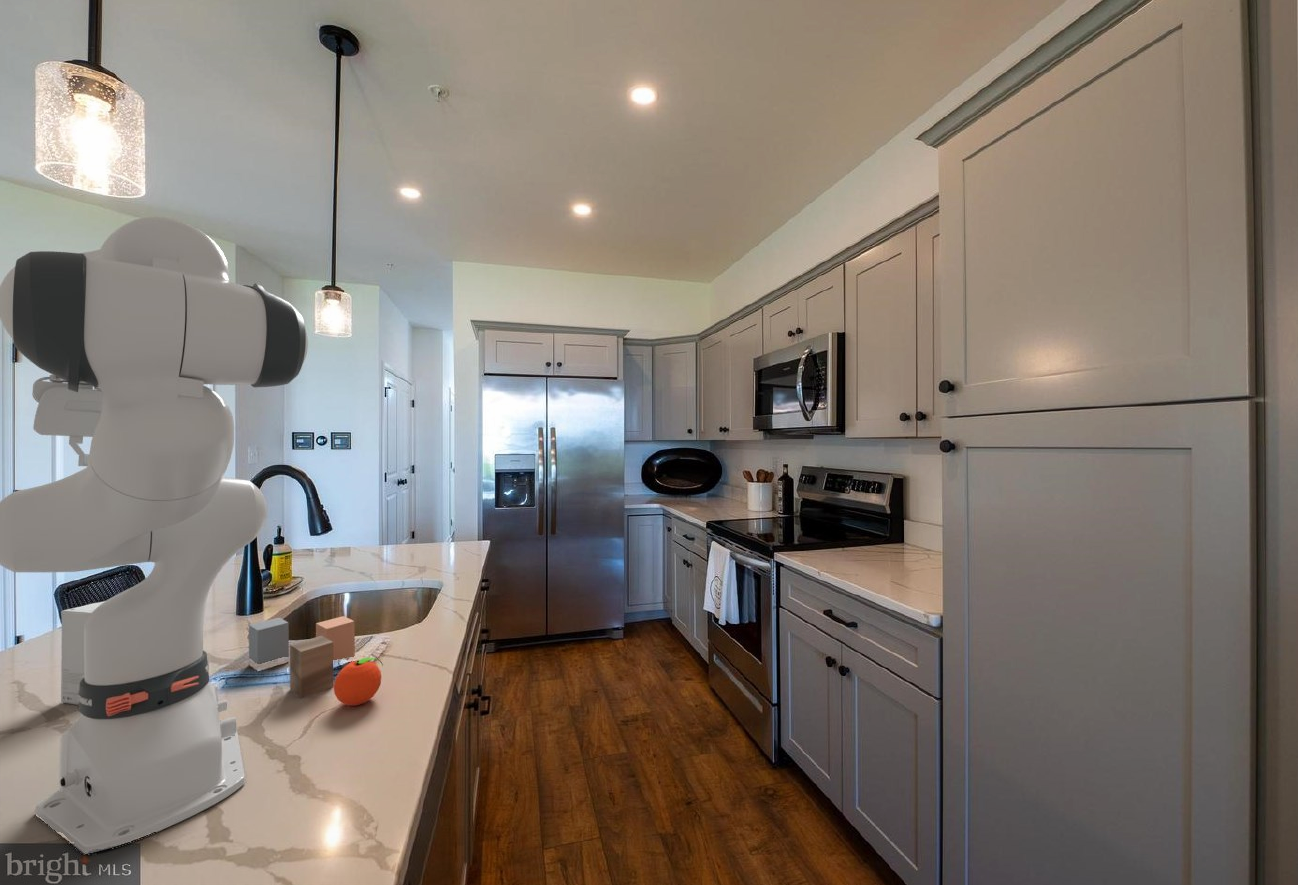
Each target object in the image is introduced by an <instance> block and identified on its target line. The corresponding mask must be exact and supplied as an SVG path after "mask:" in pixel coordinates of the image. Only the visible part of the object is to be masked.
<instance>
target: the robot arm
mask: <svg viewBox="0 0 1298 885" xmlns="http://www.w3.org/2000/svg"><path fill="white" fill-rule="evenodd" d="M230 279H231V278H230V269H229V264H228V261H227V259H226V257H225V254H224V252H223V251H222V249H221V247H219V245H218V244H217V243H216V242H215V240H214V239H212V238H211V237H210V236H209V235H207V234H206V233H205V232H204V231H202V230H201V229H198V228H197V227H195V226H193V225H192V224H189V223H186V222H184V221H182V220H179V219H174V218H169V217H164V216H148V217H147V216H146V217H140V218H137V219H134V220H131V221H128V222H127V223H125V224H123V225H122V226H120V227H119V228H117V229H116V230H114V231H113V232H112V233H111V234H110V235H109V236H108V237H107V239H105V241H104V243H103V244H102V245H101V247H100V249H97V250H92V251H86V252H79V253H77V252H68V251H67V252H66V251H49V250H48V251H47V250H46V251H41V250H38V251H30V252H28V253H26V254H24V255H23V256H21V257H19V258H17V259H16V262H15V266H14V267H13V268H11V270H10V271H9V272H7V274H6V275H5V277H4V278H3V280H2V281H1V283H0V321H1V324H2V326H3V327H4V329H5V330H6V332H7V334H8V335H9V336H10V337H11V339H12V340H13V345H14V348H16V350H17V351H18V352H19V353H20V354H21V355H22V356H24V357H25V358H26V359H27V360H28V361H30V362H31V363H33V364H34V366H36V367H38V368H39V369H40V370H42V371H44V372H47V373H49V374H50V375H49V376H44V377H43V376H42V377H40V378H38V379H36V380H35V381H34V383H33V385H32V398H33V399H34V400H35V402H37V403H38V405H37V408H36V411H35V416H34V420H33V427H32V428H33V431H34V432H36V433H37V434H39V435H41V436H59V437H60V436H61V437H64V436H65V437H69V438H68V439H69V440H68V444H69V446H70V447H71V448H72V450H73V451H74V452H75V454H76V455H77V456H78V461H77V462H78V464H77V465H78V467H85V468H83V469H82V470H81V469H80V470H78V471H77V472H76V473H73V474H71V475H68V476H66V477H64V478H61V479H58V480H56V481H52V482H50V483H45V484H42V485H38V486H33V487H29V488H25V489H20V490H16V491H13V492H12V493H10V494H8V495H7V496H5V497H4V498H3V499H2V500H1V499H0V566H2V567H3V568H5V569H6V570H8V571H10V572H13V573H76V572H84V571H91V570H97V569H105V568H112V567H113V568H115V567H120V566H127V565H133V564H142V563H143V564H144V563H154V566H153V568H152V569H151V571H150V573H149V574H148V575H147V577H146V578H144V579H143V580H142V581H140V582H139V583H137V584H135V585H134V586H132V587H130V588H127V589H125V590H124V591H121V592H119V593H117V594H115V595H114V596H112V597H110V598H108V599H106V600H104V601H105V602H104V601H103V602H104V603H102V604H101V605H100V606H98V607H97V608H96V609H95V610H94V611H93V612H92V613H91V614H90V616H89V617H88V619H87V621H86V623H85V626H84V678H83V679H82V680H81V681H80V685H79V691H78V701H79V705H78V711H79V713H80V714H79V716H78V717H77V719H76V720H75V721H74V722H73V723H72V724H71V725H70V726H69V727H68V728H66V729H65V731H64V732H62V733H61V735H60V747H59V748H60V750H59V767H58V768H59V770H58V772H59V773H58V790H56V791H54V792H53V793H52V794H50V795H48V796H46V797H45V798H43V799H42V800H40V801H38V803H37V804H36V805H35V811H34V814H35V813H36V814H37V815H38V816H39V817H41V818H42V819H43V820H44V821H45V822H46V823H47V824H48V825H49V826H51V828H53V829H54V830H55V831H57V832H61V833H63V834H64V835H65V836H66V837H67V838H68V839H69V840H70V841H71V842H74V844H75V846H77V847H78V848H79V849H81V850H82V851H83V852H84V853H85V854H86V853H88V852H89V851H92V850H93V849H94V850H95V849H104V848H107V847H109V846H110V847H112V846H117V845H121V844H124V843H127V842H130V843H132V842H131V841H132V840H134V839H135V838H138V837H142V836H145V835H147V834H149V833H152V832H156V833H158V832H160V831H162V830H165V829H167V828H169V827H171V826H173V825H176V824H178V823H180V822H182V821H184V820H186V819H188V818H191V817H193V816H195V815H197V814H199V813H201V812H202V811H205V810H207V809H208V808H211V807H212V806H214V805H216V804H217V803H219V802H221V801H222V800H224V799H226V798H227V797H229V796H230V795H232V794H233V793H235V792H236V791H237V790H239V789H240V788H241V787H243V785H245V783H246V776H245V770H244V763H243V762H244V761H243V756H242V752H241V746H240V745H241V744H240V740H239V739H240V738H239V734H238V730H237V717H236V716H231V717H228V718H224V719H222V720H220V714H219V713H221V712H224V711H226V710H228V704H227V703H228V702H227V700H226V699H224V700H220V701H219V696H218V695H219V692H218V691H219V686H218V685H216V684H214V683H212V682H210V673H209V670H210V665H209V663H210V662H209V660H208V655H207V651H205V650H204V624H205V612H206V604H207V599H208V597H209V596H208V595H209V592H210V590H211V588H212V586H213V584H214V581H215V580H216V578H217V576H219V574H220V572H221V570H222V569H223V568H224V567H225V565H226V564H227V563H228V562H229V561H230V559H232V558H233V557H234V556H235V555H236V554H237V553H238V552H239V551H241V549H243V548H245V547H246V546H247V545H249V544H250V543H252V542H253V541H254V540H255V539H256V538H257V537H258V535H260V533H261V532H262V530H263V528H265V524H266V522H267V519H268V503H267V500H266V497H265V496H264V494H263V492H262V491H261V490H260V488H259V487H258V486H257V485H255V484H254V483H253V482H252V481H251V480H248V479H241V478H233V477H225V473H226V471H227V469H228V467H229V463H230V461H231V458H232V454H233V449H234V445H235V444H234V443H235V425H234V424H235V423H234V417H233V413H232V411H231V409H230V406H229V405H228V403H227V402H226V401H225V400H224V398H223V397H221V396H220V395H219V394H218V393H217V392H216V391H214V390H213V389H212V388H210V387H208V386H206V385H212V386H213V385H216V386H218V385H222V386H225V385H227V386H228V385H229V386H230V385H231V386H234V385H235V386H236V385H237V386H241V385H250V386H252V387H253V388H271V387H280V386H284V385H288V384H290V383H291V382H292V381H293V380H294V379H295V378H296V377H297V376H298V375H300V372H301V370H302V367H303V364H304V362H305V360H306V358H307V354H308V350H309V349H308V348H309V342H308V341H309V340H308V334H307V329H306V323H305V321H304V320H305V319H304V318H303V316H302V314H301V313H300V312H299V311H298V310H297V309H296V308H295V307H294V305H293V304H291V303H290V302H288V301H287V300H284V299H283V298H281V297H279V296H277V295H275V294H273V293H270V292H269V291H266V290H265V288H264V286H262V285H261V284H258V283H256V282H254V283H253V285H252V286H251V285H247V284H238V283H234V282H232V281H230ZM46 380H49V381H46ZM84 437H85V438H86V437H87V438H88V437H89V438H91V437H92V438H91V441H90V448H89V454H87V453H85V452H84V451H83V450H82V448H81V447H80V445H81V444H83V443H84V442H83V441H84ZM49 826H48V827H49ZM51 828H50V829H51ZM54 830H53V831H54ZM55 831H54V832H55ZM85 854H84V855H85Z"/></svg>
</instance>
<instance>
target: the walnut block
mask: <svg viewBox="0 0 1298 885" xmlns="http://www.w3.org/2000/svg"><path fill="white" fill-rule="evenodd" d="M334 682H335V680H334V668H333V642H332V641H330V640H329V639H327V638H325V637H323V636H319V637H316V636H315V637H313V638H310V639H309V638H308V639H305V640H302V641H298V642H295V643H290V644H289V690H290V691H291V692H293V694H295V695H296V696H297V697H298V698H301V699H303V698H306V697H308V696H312V695H314V694H317V693H319V692H322V691H325V690H328V689H331V688H334Z"/></svg>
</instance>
